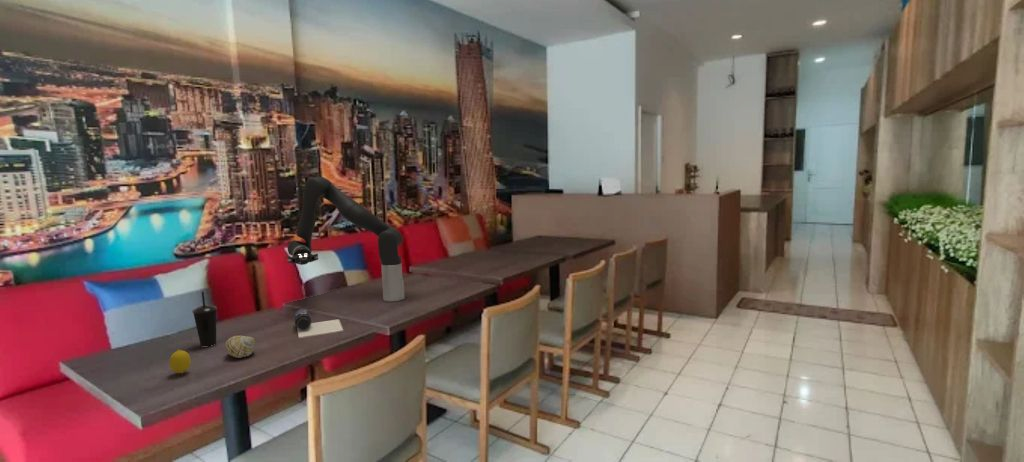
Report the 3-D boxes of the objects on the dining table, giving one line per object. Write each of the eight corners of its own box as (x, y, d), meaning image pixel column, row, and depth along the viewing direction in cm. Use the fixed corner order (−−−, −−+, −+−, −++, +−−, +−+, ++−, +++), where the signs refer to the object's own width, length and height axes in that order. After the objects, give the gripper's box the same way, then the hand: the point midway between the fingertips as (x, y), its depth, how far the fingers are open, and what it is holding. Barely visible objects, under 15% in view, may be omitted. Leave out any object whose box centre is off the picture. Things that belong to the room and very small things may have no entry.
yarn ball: (235, 346, 180) (245, 322, 179) (257, 359, 179) (267, 336, 178) (213, 356, 170) (224, 331, 169) (237, 370, 169) (247, 345, 168)
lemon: (177, 370, 162) (174, 347, 161) (195, 369, 163) (192, 346, 161) (167, 378, 157) (164, 353, 155) (186, 377, 157) (183, 352, 156)
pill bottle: (306, 306, 205) (308, 313, 195) (312, 319, 206) (314, 327, 196) (291, 313, 202) (292, 320, 193) (297, 326, 204) (299, 334, 194)
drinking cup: (225, 342, 186) (219, 289, 183) (207, 350, 179) (200, 295, 176) (210, 340, 189) (204, 288, 186) (191, 347, 182) (184, 294, 179)
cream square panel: (338, 320, 209) (338, 319, 209) (343, 331, 196) (343, 330, 196) (297, 326, 202) (296, 325, 202) (298, 338, 189) (298, 337, 189)
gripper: (284, 248, 223) (286, 255, 208) (316, 245, 229) (320, 251, 213) (286, 264, 225) (288, 272, 209) (318, 261, 230) (321, 268, 215)
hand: (304, 262), depth 211 cm, fingers closed
